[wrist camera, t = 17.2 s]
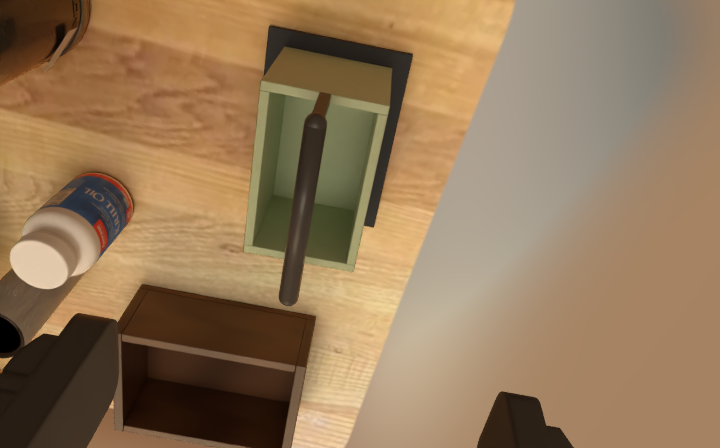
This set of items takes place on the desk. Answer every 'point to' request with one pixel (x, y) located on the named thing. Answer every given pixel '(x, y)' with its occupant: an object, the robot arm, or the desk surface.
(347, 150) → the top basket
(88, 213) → the pill bottle
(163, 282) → the desk surface
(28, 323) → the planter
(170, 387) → the open wooden box
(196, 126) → the desk surface
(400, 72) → the mat
